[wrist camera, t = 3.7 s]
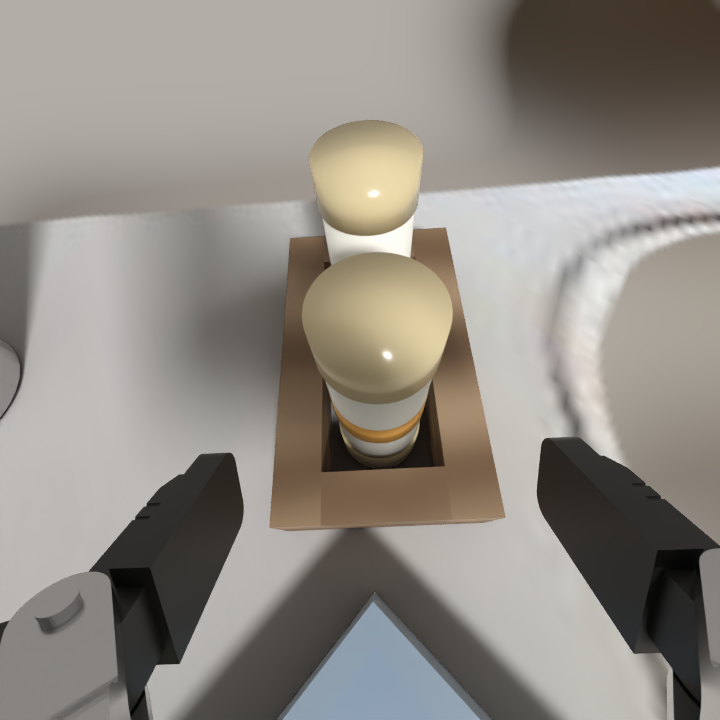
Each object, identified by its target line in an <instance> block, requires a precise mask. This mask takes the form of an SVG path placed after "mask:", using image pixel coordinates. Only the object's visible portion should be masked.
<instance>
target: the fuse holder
mask: <svg viewBox="0 0 720 720" xmlns="http://www.w3.org/2000/svg"><path fill="white" fill-rule="evenodd" d="M410 258H412V259H414V260H416V261H418V262H420V263H422V264H424V265H425V266H426V267H428V268H429V269H431V270H432V271H433V272H434V273H435V274H436V275H437V276H438V277H439V278H440V280H441V281H442V282H443V284H444V285H445V287H446V288H447V291H448V293H449V295H450V299H451V302H452V309H453V317H452V324H451V329H450V332H449V335H448V338H447V341H446V345H445V348H444V351H443V354H442V358H441V361H440V364H439V366H438V369H437V371H436V373H435V374H434V376H433V377H432V380H431V383H430V387H429V391H428V396H427V400H426V403H425V406H426V413H427V421H428V429H429V437H430V445H431V452H432V460H433V467H421V468H401V469H380V470H360V471H339V472H331V398H330V394H329V390H328V387H327V384H326V381H325V380H324V378H323V377H322V375H321V374H320V372H319V370H318V367H317V365H316V362H315V359H314V356H313V354H312V351H311V348H310V345H309V343H308V340H307V337H306V334H305V331H304V328H303V323H302V308H303V303H304V299H305V296H306V294H307V292H308V290H309V288H310V287H311V285H312V283H313V282H314V281H315V280H316V278H317V277H318V276H319V275H320V274H321V273H322V272H324V271H325V270H326V269H327V268H329V267H330V266H331V263H330V257H329V251H328V246H327V240H326V236H317V237H303V238H290V251H289V264H288V278H287V292H286V306H285V320H284V334H283V348H282V362H281V375H280V389H279V403H278V417H277V431H276V445H275V459H274V472H273V486H272V500H271V514H270V528H274V529H280V530H286V531H300V530H323V529H346V528H369V527H392V526H415V525H438V524H461V523H484V522H489V521H493V520H497V519H501V518H505V513H504V508H503V503H502V498H501V494H500V489H499V484H498V479H497V474H496V469H495V464H494V460H493V455H492V450H491V445H490V440H489V435H488V430H487V426H486V421H485V416H484V411H483V406H482V401H481V396H480V391H479V387H478V382H477V377H476V372H475V367H474V362H473V357H472V353H471V348H470V343H469V338H468V333H467V328H466V323H465V319H464V314H463V309H462V304H461V299H460V294H459V289H458V284H457V280H456V275H455V270H454V265H453V260H452V255H451V250H450V246H449V241H448V236H447V231H446V228H432V229H418V230H413V234H412V245H411V255H410Z"/></svg>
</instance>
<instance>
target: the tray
mask: <svg viewBox="0 0 720 720" xmlns="http://www.w3.org/2000/svg"><path fill="white" fill-rule="evenodd" d="M276 720H492V719H491V717H490V716H489V715H488V714H487V713H486V712H485V711H484V710H483V709H482V708H481V707H480V706H479V704H478V703H477V702H476V701H475V700H474V699H473V698H472V697H471V696H470V695H469V694H468V692H467V691H466V690H465V689H464V688H463V687H462V686H461V685H460V684H459V683H458V682H457V681H456V679H455V678H454V677H453V676H452V675H451V674H450V673H449V672H448V671H447V670H446V669H445V667H444V666H443V665H442V664H441V663H440V662H439V661H438V660H437V659H436V658H435V657H434V656H433V654H432V653H431V652H430V651H429V650H428V649H427V648H426V647H425V646H424V645H423V644H422V643H421V641H420V640H419V639H418V638H417V637H416V636H415V635H414V634H413V633H412V632H411V631H410V629H409V628H408V627H407V626H406V625H405V624H404V623H403V622H402V621H401V620H400V619H399V618H398V616H397V615H396V614H395V613H394V612H393V611H392V610H391V609H390V608H389V607H388V606H387V604H386V603H385V602H384V601H383V600H382V599H381V598H380V597H379V596H378V595H377V594H376V593H375V592H374V593H373V595H372V596H371V597H370V599H369V600H368V601H367V602H366V604H365V605H364V606H363V608H362V609H361V610H360V612H359V613H358V614H357V615H356V617H355V618H354V619H353V621H352V622H351V623H350V624H349V626H348V627H347V628H346V630H345V631H344V632H343V634H342V635H341V636H340V637H339V639H338V640H337V641H336V643H335V644H334V645H333V646H332V648H331V649H330V650H329V652H328V653H327V654H326V656H325V657H324V658H323V659H322V661H321V662H320V663H319V665H318V666H317V667H316V668H315V670H314V671H313V672H312V674H311V675H310V676H309V678H308V679H307V680H306V681H305V683H304V684H303V685H302V687H301V688H300V689H299V690H298V692H297V693H296V694H295V696H294V697H293V698H292V700H291V701H290V702H289V703H288V705H287V706H286V707H285V709H284V710H283V711H282V712H281V714H280V715H279V716H278V718H277V719H276Z"/></svg>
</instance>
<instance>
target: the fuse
mask: <svg viewBox="0 0 720 720" xmlns="http://www.w3.org/2000/svg"><path fill="white" fill-rule="evenodd" d="M422 159H423V148H422V145H421V143H420V141H419V139H418V138H417V137H416V136H415V135H414V134H413V133H412V132H411V131H409V130H408V129H406V128H404V127H402V126H400V125H397V124H394V123H390V122H385V121H378V120H364V121H355V122H350V123H346V124H343V125H341V126H338V127H336V128H333V129H331V130H329V131H328V132H326V133H325V134H323V135H322V136H321V137H320V138H319V139H318V140H317V141H316V142H315V144H314V145H313V147H312V149H311V152H310V156H309V160H310V167H311V172H312V178H313V183H314V188H315V193H316V199H317V204H318V209H319V212H320V215H321V216H322V218H323V224H324V229H325V235H326V240H327V246H328V251H329V257H330V263H331V266H332V265H333V264H335V263H337V262H339V261H341V260H343V259H345V258H348V257H351V256H354V255H358V254H363V253H371V252H386V253H394V254H399V255H403V256H406V257H409V258H410V255H411V245H412V234H413V224H414V214H415V211H416V209H417V206H418V198H419V188H420V179H421V169H422Z"/></svg>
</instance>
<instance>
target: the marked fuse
mask: <svg viewBox="0 0 720 720" xmlns="http://www.w3.org/2000/svg"><path fill="white" fill-rule="evenodd" d="M452 317H453V309H452V302H451V299H450V295H449V293H448V291H447V288H446V287H445V285H444V284H443V282H442V281H441V280H440V278H439V277H438V276H437V275H436V274H435V273H434V272H433V271H432V270H431V269H429V268H428V267H426V266H425V265H424V264H422V263H420V262H418V261H416V260H414V259H412V258H409V257H406V256H403V255H399V254H394V253H386V252H371V253H363V254H358V255H354V256H351V257H348V258H345V259H343V260H341V261H339V262H337V263H335V264H333V265H332V266H330V267H329V268H327V269H326V270H325V271H324V272H322V273H321V274H320V275H319V276H318V277H317V278H316V280H315V281H314V282H313V283H312V285H311V287H310V288H309V290H308V292H307V294H306V296H305V299H304V303H303V308H302V323H303V328H304V331H305V334H306V337H307V340H308V343H309V345H310V348H311V351H312V354H313V356H314V359H315V362H316V365H317V367H318V370H319V372H320V374H321V375H322V377H323V378H324V380H325V381H326V384H327V387H328V390H329V394H330V398H331V401H332V404H333V407H334V410H335V413H336V415H337V418H338V420H339V423H340V430H341V434H342V437H343V439H344V442H345V445H346V447H347V449H348V451H349V453H350V454H351V455H352V456H353V457H354V459H356V460H357V461H358V462H360V463H361V464H363V465H365V466H368V467H371V468H379V469H382V468H389V467H392V466H395V465H397V464H399V463H400V462H402V461H403V460H404V459H405V458H406V457H407V456H408V455H409V454H410V452H411V451H412V449H413V447H414V444H415V441H416V438H417V435H418V431H419V424H420V422H419V421H420V418H421V416H422V413H423V410H424V406H425V403H426V400H427V396H428V391H429V387H430V383H431V380H432V377H433V376H434V374H435V373H436V371H437V369H438V366H439V364H440V361H441V358H442V354H443V351H444V348H445V345H446V341H447V338H448V335H449V332H450V329H451V324H452Z"/></svg>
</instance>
